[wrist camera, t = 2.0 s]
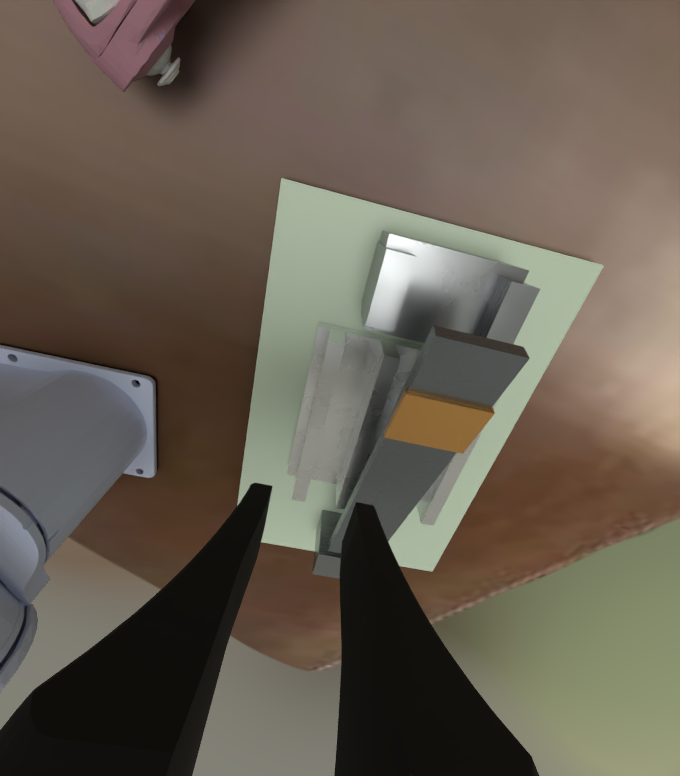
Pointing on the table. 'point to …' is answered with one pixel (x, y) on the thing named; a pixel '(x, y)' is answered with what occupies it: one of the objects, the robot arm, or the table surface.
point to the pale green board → (343, 307)
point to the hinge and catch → (432, 314)
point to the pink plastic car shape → (127, 35)
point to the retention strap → (432, 422)
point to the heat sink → (356, 414)
